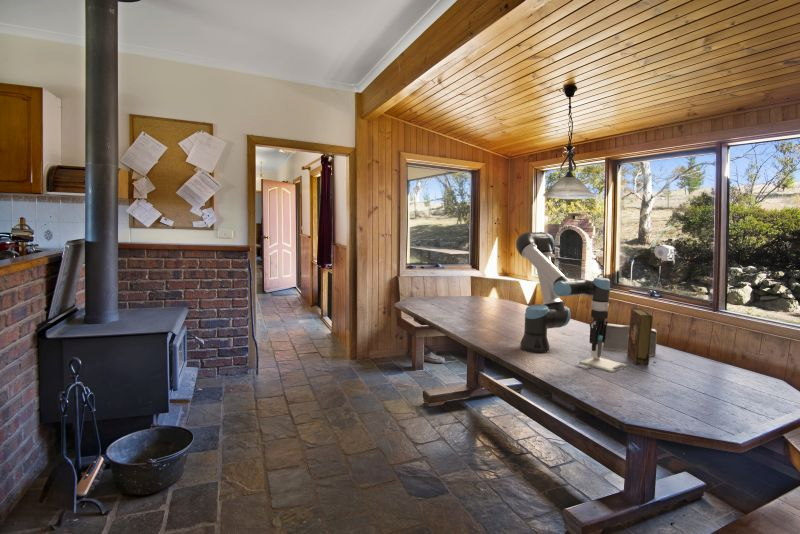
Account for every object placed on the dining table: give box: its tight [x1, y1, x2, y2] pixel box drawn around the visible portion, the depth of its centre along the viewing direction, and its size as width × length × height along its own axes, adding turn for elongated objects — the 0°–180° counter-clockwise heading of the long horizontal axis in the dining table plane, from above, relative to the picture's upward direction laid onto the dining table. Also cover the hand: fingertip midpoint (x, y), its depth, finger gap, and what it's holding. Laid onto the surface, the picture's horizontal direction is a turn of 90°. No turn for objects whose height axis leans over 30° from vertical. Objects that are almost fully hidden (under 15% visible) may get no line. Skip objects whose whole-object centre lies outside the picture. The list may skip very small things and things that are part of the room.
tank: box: [602, 323, 658, 357], centre depth 245 cm, size 25×16×12 cm, turn 62°
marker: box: [593, 335, 603, 360], centre depth 222 cm, size 4×4×12 cm
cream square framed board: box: [579, 356, 628, 373], centre depth 218 cm, size 16×15×1 cm
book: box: [626, 307, 654, 366], centre depth 224 cm, size 16×6×25 cm, turn 168°
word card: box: [575, 363, 593, 370], centre depth 214 cm, size 6×4×1 cm, turn 39°
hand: (596, 356), depth 222 cm, fingers closed on marker, 4 cm apart
